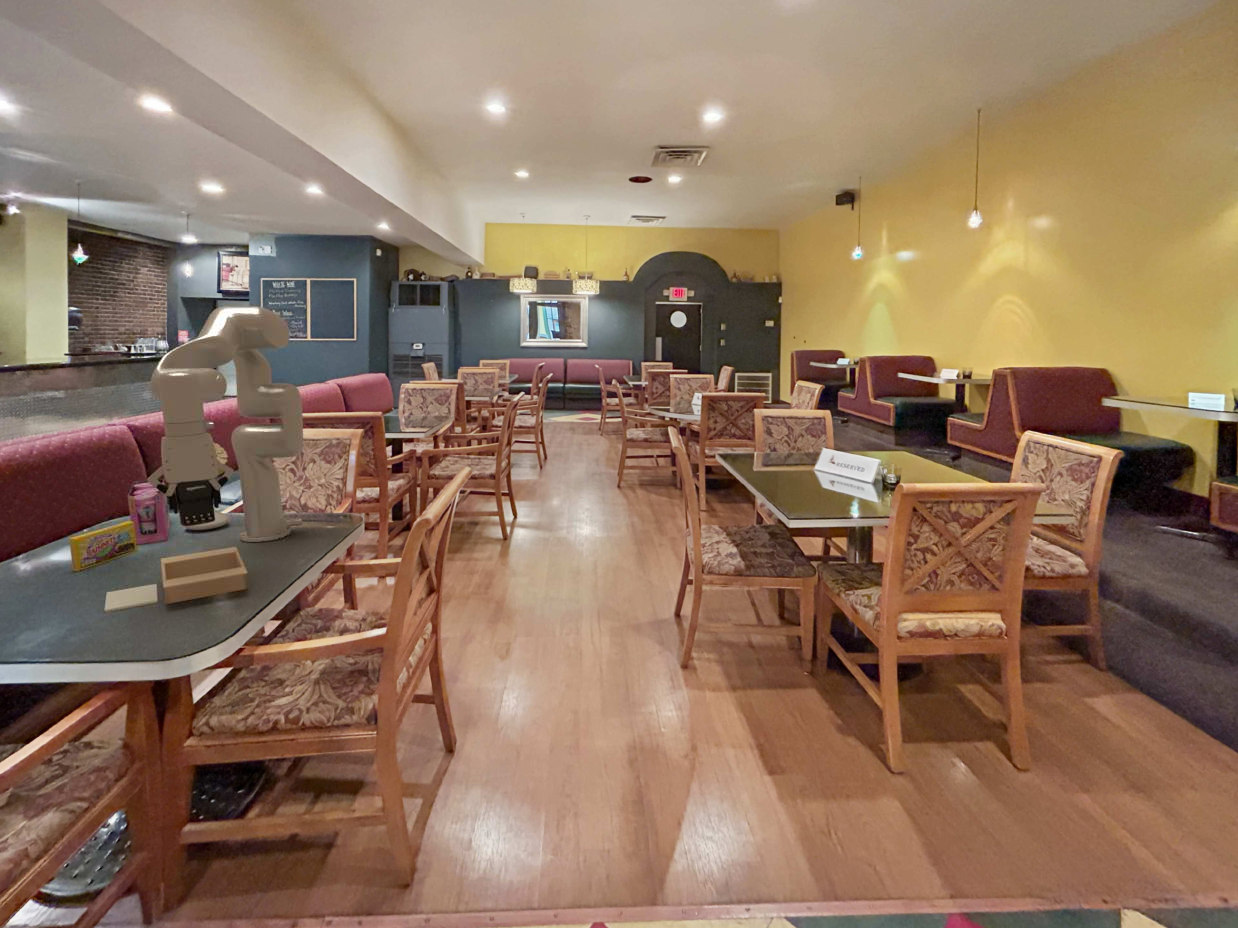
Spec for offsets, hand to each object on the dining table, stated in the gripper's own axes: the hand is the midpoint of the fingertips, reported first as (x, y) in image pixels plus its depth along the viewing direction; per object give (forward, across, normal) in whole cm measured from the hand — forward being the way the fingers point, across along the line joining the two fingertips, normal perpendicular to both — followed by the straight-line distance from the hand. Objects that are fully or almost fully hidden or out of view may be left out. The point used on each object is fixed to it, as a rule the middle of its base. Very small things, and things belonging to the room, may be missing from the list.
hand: (196, 509), depth 151 cm
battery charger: (+4, 0, 0) cm, 4 cm away
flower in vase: (+19, -5, -55) cm, 59 cm away
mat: (+18, +14, 0) cm, 22 cm away
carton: (+18, 0, +1) cm, 18 cm away
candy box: (+19, +19, -35) cm, 44 cm away
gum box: (+19, +9, -58) cm, 62 cm away
